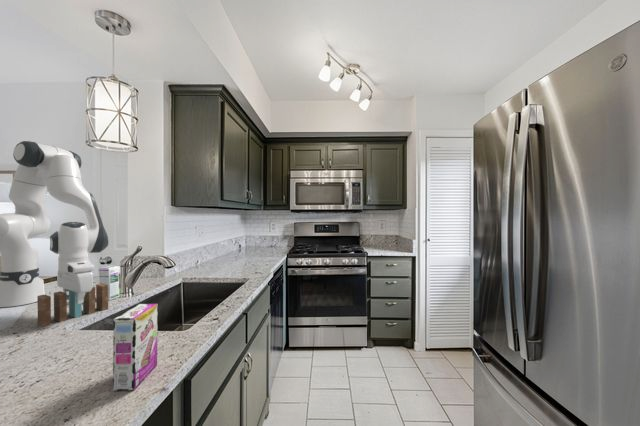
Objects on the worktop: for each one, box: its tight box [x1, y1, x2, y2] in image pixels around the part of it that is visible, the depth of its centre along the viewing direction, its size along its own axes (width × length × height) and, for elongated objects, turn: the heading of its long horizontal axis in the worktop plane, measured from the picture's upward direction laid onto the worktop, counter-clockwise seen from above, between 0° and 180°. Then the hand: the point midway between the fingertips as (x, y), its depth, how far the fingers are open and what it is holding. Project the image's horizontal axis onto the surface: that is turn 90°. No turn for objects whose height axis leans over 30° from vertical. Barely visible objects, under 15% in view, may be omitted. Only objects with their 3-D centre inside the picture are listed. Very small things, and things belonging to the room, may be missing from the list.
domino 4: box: [82, 286, 96, 315], centre depth 115 cm, size 2×5×10 cm, turn 61°
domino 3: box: [68, 290, 83, 319], centre depth 111 cm, size 2×5×10 cm, turn 61°
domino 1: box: [37, 293, 52, 327], centre depth 103 cm, size 2×5×10 cm, turn 61°
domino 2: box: [53, 290, 68, 323], centre depth 107 cm, size 2×5×10 cm, turn 61°
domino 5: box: [95, 283, 109, 312], centre depth 119 cm, size 2×5×10 cm, turn 61°
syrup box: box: [98, 265, 122, 301], centre depth 133 cm, size 6×6×14 cm
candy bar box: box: [112, 303, 159, 392], centre depth 70 cm, size 11×5×16 cm, turn 5°
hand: (74, 301), depth 110 cm, fingers open, 8 cm apart
